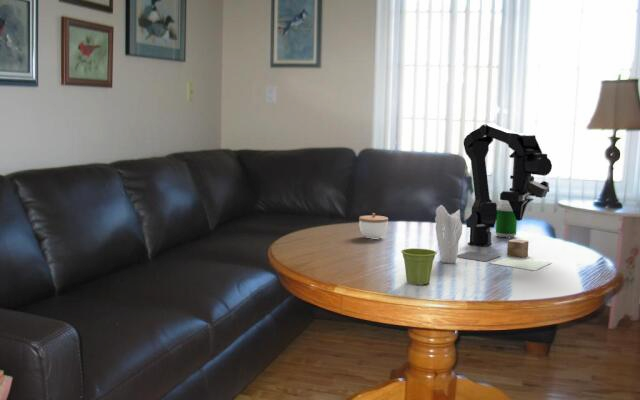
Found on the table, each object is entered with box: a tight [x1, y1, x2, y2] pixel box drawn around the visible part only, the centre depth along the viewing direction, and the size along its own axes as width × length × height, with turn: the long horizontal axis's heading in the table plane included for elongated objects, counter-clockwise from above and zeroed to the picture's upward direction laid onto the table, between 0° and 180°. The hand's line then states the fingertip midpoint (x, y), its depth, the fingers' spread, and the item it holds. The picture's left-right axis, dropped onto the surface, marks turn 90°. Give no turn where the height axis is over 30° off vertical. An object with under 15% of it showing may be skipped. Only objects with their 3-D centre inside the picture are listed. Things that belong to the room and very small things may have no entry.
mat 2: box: [490, 256, 553, 272], centre depth 206 cm, size 14×14×1 cm
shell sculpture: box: [434, 204, 463, 264], centre depth 205 cm, size 8×8×18 cm
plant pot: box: [400, 247, 437, 286], centre depth 179 cm, size 9×9×9 cm
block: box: [506, 238, 530, 258], centre depth 218 cm, size 5×5×5 cm
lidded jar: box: [358, 212, 389, 238], centre depth 246 cm, size 11×11×9 cm
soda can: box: [495, 204, 518, 239], centre depth 252 cm, size 8×8×12 cm
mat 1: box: [457, 250, 501, 263], centre depth 215 cm, size 11×11×1 cm
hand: (519, 220), depth 216 cm, fingers closed
